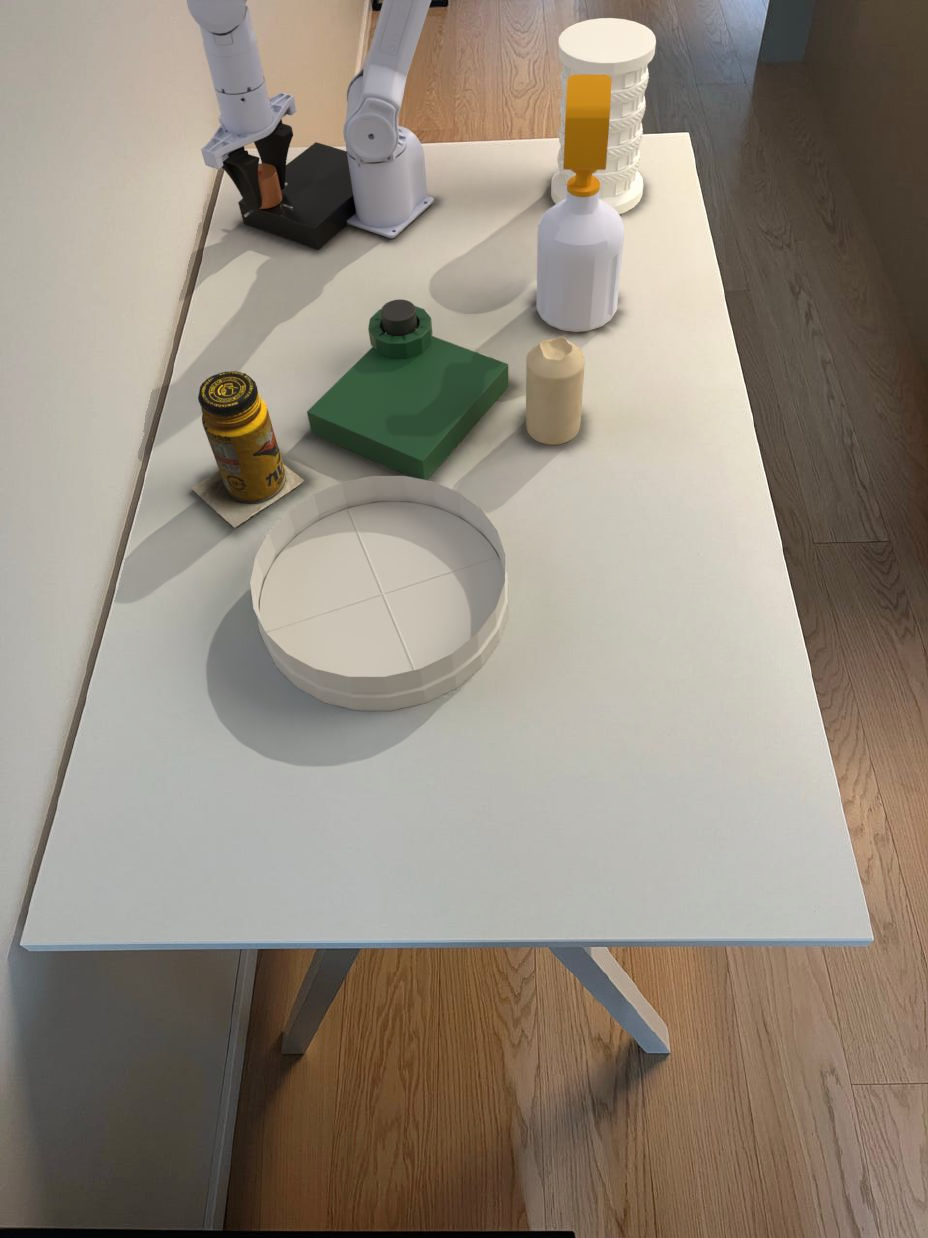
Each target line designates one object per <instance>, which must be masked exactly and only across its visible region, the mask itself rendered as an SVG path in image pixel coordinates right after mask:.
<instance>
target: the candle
mask: <svg viewBox="0 0 928 1238" xmlns="http://www.w3.org/2000/svg"><path fill="white" fill-rule="evenodd" d="M525 360H526V361H525V379H526V380H525V427H526V431H527V434H528V435H529V437H531V438H532V439H533V440H535V441H536V442H538V443H541V444H544V445H549V446H550V445H551V446H556V445H562V444H566V443H568V442H570V441H572V440H573V439H574V438H575V437H576V436H577V435H578V433H579V431H580V428H581V420H582V408H583V395H584V394H583V393H584V392H583V391H584V379H585V365H586V358H585V354H584V352H583V351H582V350H581V349H580V347H579V346H577V345H575V344H574V343H573V342H571V341H569V340H568V339H567V338H566V337H564V336H558V337H555V338H553V339H547V340H545V339H544V340H542V341H540V343H538V344H536V345H534V346H533V347H532V348H531V349H530V350H529V351H528V352H527V354H526V359H525Z"/></svg>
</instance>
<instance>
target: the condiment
mask: <svg viewBox="0 0 928 1238" xmlns="http://www.w3.org/2000/svg"><path fill="white" fill-rule="evenodd" d="M197 395H198V397H197V400H198V403H199V405H200V409H201V414H202V415H201V424H202V427H203V430H204V432H205V435H206V437H207V439H208V440H207V441H208V443H209V446H210V448H211V451H212V454H213V457H214V460H215V463H216V465H217V468H218V470H217V471H216V472H215V473H213V474H211V475H210V476H209V477H207V478H205V479H202V480H201V481H199V482H198V483H196V484H195V485H193V486H192V487H191V490H192V491H194V492H195V493H196V494H197V495H198V496H199V497H200V498H201V499H202V500H203V501H204V502H205V503H206V504H207V505H208V506H209V507H211V508H212V510H214V511H215V512H216V513H217V514H218V515H220V517H222V519H224V520H225V522H228V524H230V525H231V527H233V528H234V529H235V528H237V527H238V526H240V525H241V524H242V523H244V522H247V521H248V520H249V519H250V518H251V517H254V516H255V515H257V513H259V512H260V511H262V510H264V509H265V508H268V506H270V505H272V504H273V503H275V502H277V500H280V499H281V498H282V497H284V496H285V495H287V494H288V493H290V492H292V490H294V489H296V488H297V487H298V486H300V485H301V484H302V483H303V482H304V481H305V480H304V479H303V478H302V477H300V476H299V475H298V474H297V473H296V472H294V471H293V470H292V469H290V468H289V467H288V466H287V465H286V464H284V461H283V458H282V453H281V451H280V447H279V444H278V442H277V438H276V434H275V431H274V428H273V423H272V420H271V416H270V413H269V410H268V406H267V403H266V402H265V401H264V399H263V398H262V397H261V395H260V393H259V390H258V385H257V383H256V381H255V380H254V379H253V378H252V377H251V376H249V374H247V373H245V372H241V371H237V370H235V371H233V370H231V371H230V370H229V371H222V372H219V373H216V374H213V375H211V376H209V377H208V378H206V379H205V380H204V381H203V382H202V383H201V385H200V386H199V390H198V394H197Z"/></svg>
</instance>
